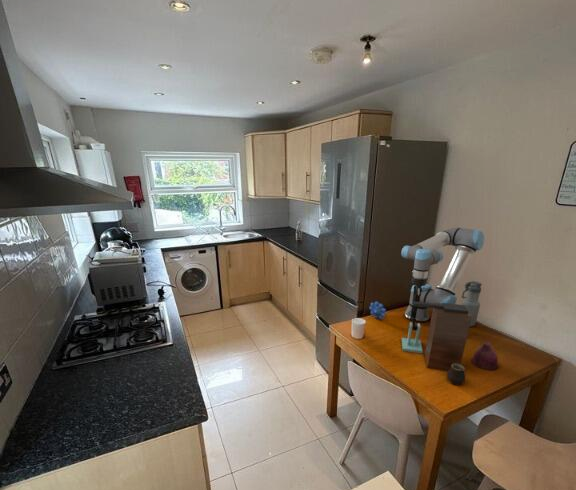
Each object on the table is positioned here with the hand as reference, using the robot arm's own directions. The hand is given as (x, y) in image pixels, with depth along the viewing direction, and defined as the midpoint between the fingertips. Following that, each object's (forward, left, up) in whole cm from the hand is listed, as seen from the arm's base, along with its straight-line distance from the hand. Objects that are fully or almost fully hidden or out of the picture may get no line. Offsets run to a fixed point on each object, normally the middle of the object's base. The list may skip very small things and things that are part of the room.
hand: (413, 316), depth 174 cm
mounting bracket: (+11, 0, -14) cm, 18 cm away
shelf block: (+24, +13, -14) cm, 31 cm away
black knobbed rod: (+5, 0, -4) cm, 6 cm away
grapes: (-19, -20, -14) cm, 30 cm away
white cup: (+8, -30, -14) cm, 34 cm away
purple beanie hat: (+18, +34, -14) cm, 41 cm away
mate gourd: (+38, +17, -14) cm, 44 cm away
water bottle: (-30, +36, -14) cm, 49 cm away
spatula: (+24, +8, +16) cm, 30 cm away
